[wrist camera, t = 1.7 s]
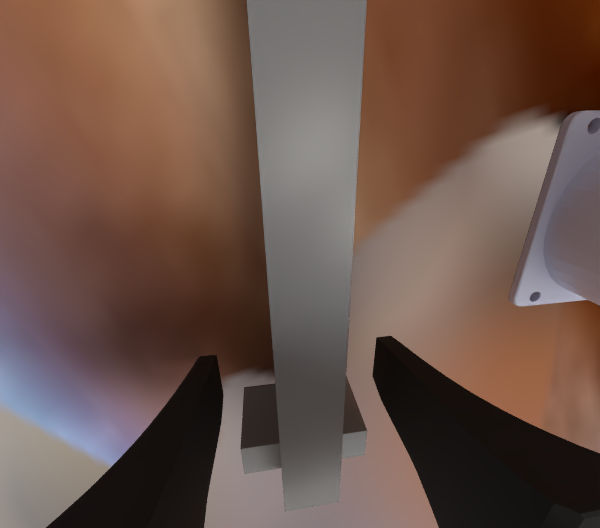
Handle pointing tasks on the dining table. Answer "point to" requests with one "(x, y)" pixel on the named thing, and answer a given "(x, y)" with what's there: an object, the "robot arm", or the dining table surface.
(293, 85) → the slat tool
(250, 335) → the dining table surface
